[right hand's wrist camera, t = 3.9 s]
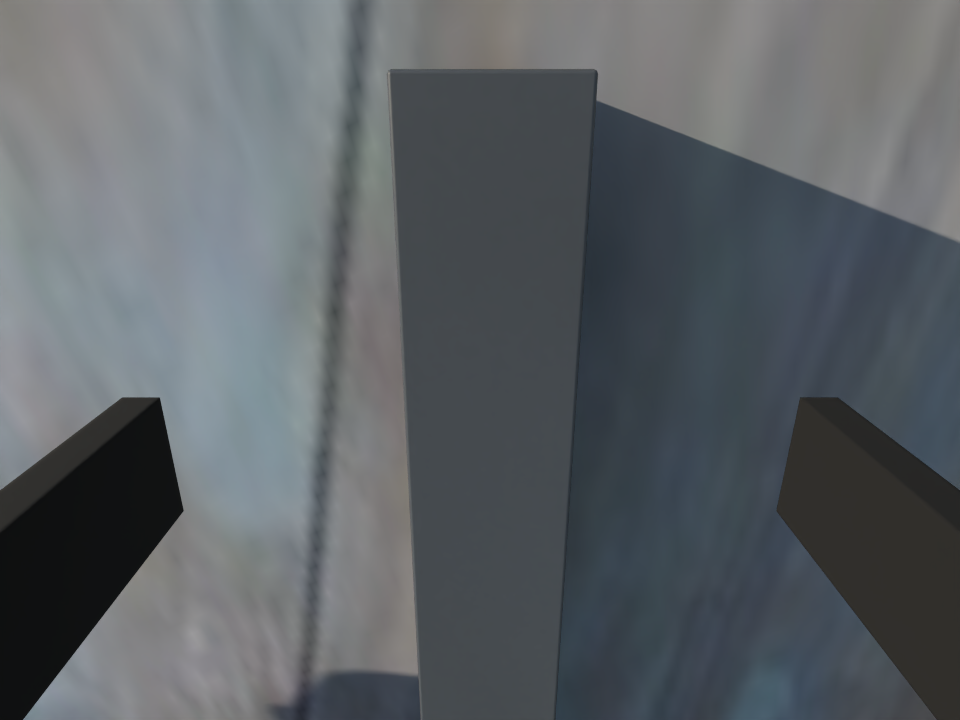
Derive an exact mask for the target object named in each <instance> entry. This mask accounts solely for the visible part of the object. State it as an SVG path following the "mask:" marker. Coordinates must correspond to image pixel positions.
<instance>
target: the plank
mask: <svg viewBox="0 0 960 720" xmlns="http://www.w3.org/2000/svg"><path fill="white" fill-rule="evenodd" d="M597 79H598V73H597V71H596V70H594V69H391V70H389V71H388V73H387V82H388V101H389V120H390V140H391V159H392V178H393V197H394V216H395V235H396V255H397V274H398V293H399V312H400V331H401V350H402V370H403V389H404V408H405V427H406V446H407V465H408V485H409V504H410V523H411V542H412V561H413V580H414V600H415V619H416V638H417V657H418V676H419V695H420V715H421V720H555V715H556V700H557V685H558V670H559V654H560V639H561V624H562V609H563V594H564V579H565V564H566V548H567V533H568V518H569V503H570V488H571V473H572V458H573V443H574V427H575V412H576V397H577V382H578V367H579V352H580V337H581V322H582V306H583V291H584V276H585V261H586V246H587V231H588V216H589V200H590V185H591V170H592V155H593V140H594V125H595V110H596V95H597Z"/></svg>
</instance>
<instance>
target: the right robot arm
mask: <svg viewBox="0 0 960 720" xmlns="http://www.w3.org/2000/svg"><path fill="white" fill-rule="evenodd" d="M776 511H777V512H778V514H779V515H780V516H781V517H782V519H783V520H784V521H785V523H786V524H787V525H788V527H789V528H790V529H791V530H792V532H793V533H794V534H795V536H796V537H797V538H798V540H799V541H800V542H801V543H802V545H803V546H804V547H805V549H806V550H807V551H808V553H809V554H810V555H811V556H812V558H813V559H814V560H815V562H816V563H817V564H818V566H819V567H820V568H821V569H822V571H823V572H824V573H825V575H826V576H827V577H828V579H829V580H830V581H831V582H832V584H833V585H834V586H835V588H836V589H837V590H838V592H839V593H840V594H841V595H842V597H843V598H844V599H845V601H846V602H847V603H848V605H849V606H850V607H851V608H852V610H853V611H854V612H855V614H856V615H857V616H858V618H859V619H860V620H861V621H862V623H863V624H864V625H865V627H866V628H867V629H868V631H869V632H870V633H871V634H872V636H873V637H874V638H875V640H876V641H877V642H878V644H879V645H880V646H881V647H882V649H883V650H884V651H885V653H886V654H887V655H888V657H889V658H890V659H891V660H892V662H893V663H894V664H895V666H896V667H897V668H898V670H899V671H900V672H901V673H902V675H903V676H904V677H905V679H906V680H907V681H908V683H909V684H910V685H911V686H912V688H913V689H914V690H915V692H916V693H917V694H918V696H919V697H920V698H921V699H922V701H923V702H924V703H925V705H926V706H927V707H928V709H929V710H930V711H931V712H932V714H933V715H934V716H935V718H936V719H937V720H960V490H959V489H957V488H956V487H955V486H953V485H952V484H951V483H949V482H948V481H947V480H945V479H944V478H943V477H941V476H940V475H939V474H937V473H936V472H935V471H934V470H932V469H931V468H930V467H928V466H927V465H926V464H924V463H923V462H922V461H920V460H919V459H918V458H916V457H915V456H914V455H913V454H911V453H910V452H909V451H907V450H906V449H905V448H903V447H902V446H901V445H899V444H898V443H897V442H895V441H894V440H893V439H891V438H890V437H889V436H888V435H886V434H885V433H884V432H882V431H881V430H880V429H878V428H877V427H876V426H874V425H873V424H872V423H870V422H869V421H868V420H867V419H865V418H864V417H863V416H861V415H860V414H859V413H857V412H856V411H855V410H853V409H852V408H851V407H849V406H848V405H847V404H845V403H844V402H843V401H842V400H840V399H839V398H800V401H799V406H798V411H797V416H796V420H795V425H794V430H793V435H792V439H791V444H790V449H789V454H788V458H787V463H786V468H785V473H784V477H783V482H782V487H781V492H780V496H779V501H778V506H777V510H776ZM182 512H183V506H182V501H181V496H180V492H179V487H178V482H177V477H176V473H175V468H174V463H173V458H172V454H171V449H170V444H169V439H168V435H167V430H166V425H165V420H164V416H163V411H162V406H161V401H160V398H121V399H120V400H118V401H117V402H116V403H115V404H113V405H112V406H111V407H109V408H108V409H107V410H105V411H104V412H103V413H101V414H100V415H99V416H97V417H96V418H95V419H93V420H92V421H91V422H90V423H88V424H87V425H86V426H84V427H83V428H82V429H80V430H79V431H78V432H76V433H75V434H74V435H72V436H71V437H70V438H69V439H67V440H66V441H65V442H63V443H62V444H61V445H59V446H58V447H57V448H55V449H54V450H53V451H51V452H50V453H49V454H47V455H46V456H45V457H44V458H42V459H41V460H40V461H38V462H37V463H36V464H34V465H33V466H32V467H30V468H29V469H28V470H26V471H25V472H24V473H23V474H21V475H20V476H19V477H17V478H16V479H15V480H13V481H12V482H11V483H9V484H8V485H7V486H5V487H4V488H3V489H1V490H0V720H23V719H24V718H25V716H26V715H27V714H28V712H29V711H30V710H31V709H32V707H33V706H34V705H35V703H36V702H37V701H38V699H39V698H40V697H41V696H42V694H43V693H44V692H45V690H46V689H47V688H48V686H49V685H50V684H51V683H52V681H53V680H54V679H55V677H56V676H57V675H58V673H59V672H60V671H61V670H62V668H63V667H64V666H65V664H66V663H67V662H68V660H69V659H70V658H71V657H72V655H73V654H74V653H75V651H76V650H77V649H78V647H79V646H80V645H81V644H82V642H83V641H84V640H85V638H86V637H87V636H88V634H89V633H90V632H91V631H92V629H93V628H94V627H95V625H96V624H97V623H98V621H99V620H100V619H101V618H102V616H103V615H104V614H105V612H106V611H107V610H108V608H109V607H110V606H111V605H112V603H113V602H114V601H115V599H116V598H117V597H118V595H119V594H120V593H121V592H122V590H123V589H124V588H125V586H126V585H127V584H128V582H129V581H130V580H131V579H132V577H133V576H134V575H135V573H136V572H137V571H138V569H139V568H140V567H141V566H142V564H143V563H144V562H145V560H146V559H147V558H148V556H149V555H150V554H151V553H152V551H153V550H154V549H155V547H156V546H157V545H158V543H159V542H160V541H161V540H162V538H163V537H164V536H165V534H166V533H167V532H168V530H169V529H170V528H171V527H172V525H173V524H174V523H175V521H176V520H177V519H178V517H179V516H180V515H181V514H182Z"/></svg>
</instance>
